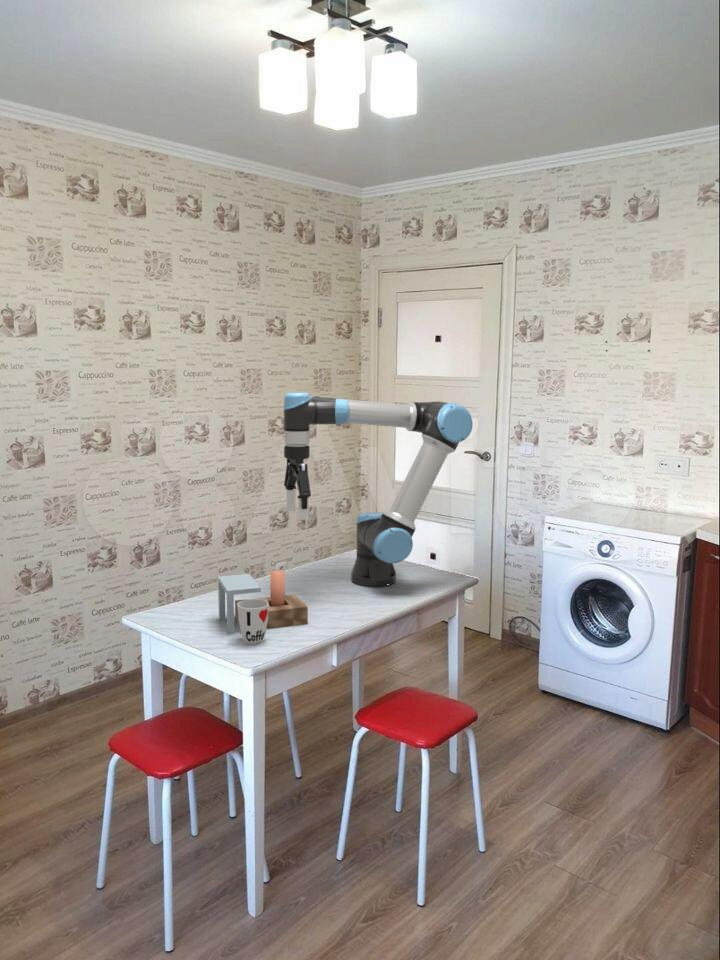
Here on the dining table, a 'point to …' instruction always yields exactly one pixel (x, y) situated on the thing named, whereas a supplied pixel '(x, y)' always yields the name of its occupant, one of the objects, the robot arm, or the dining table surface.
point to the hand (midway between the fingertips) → (297, 515)
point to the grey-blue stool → (233, 587)
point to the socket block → (284, 612)
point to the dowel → (277, 588)
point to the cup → (253, 619)
